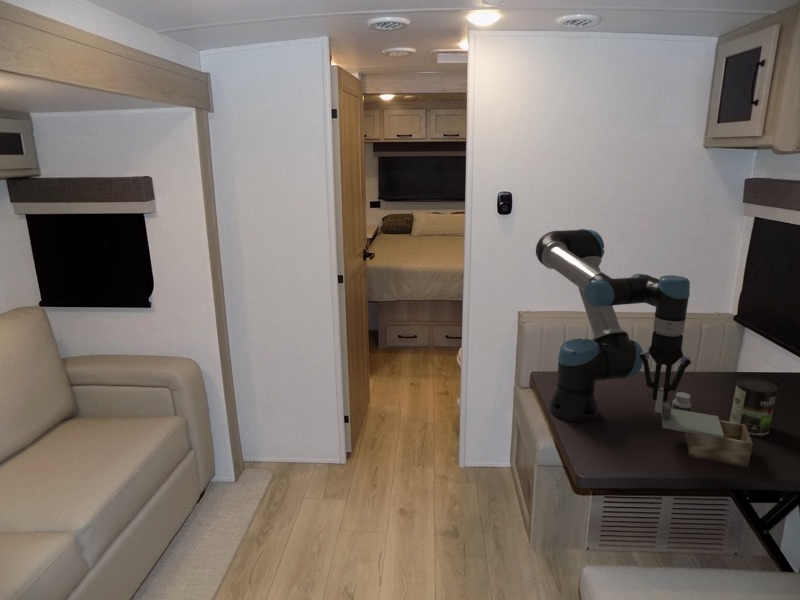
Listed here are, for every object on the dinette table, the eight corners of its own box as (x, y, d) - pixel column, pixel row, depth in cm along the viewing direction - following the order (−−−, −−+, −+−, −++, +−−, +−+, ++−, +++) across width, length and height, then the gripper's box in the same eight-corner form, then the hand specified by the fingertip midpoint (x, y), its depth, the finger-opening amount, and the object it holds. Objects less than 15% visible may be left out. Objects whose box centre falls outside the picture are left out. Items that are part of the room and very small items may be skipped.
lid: (662, 427, 145) (664, 415, 144) (661, 409, 155) (662, 397, 154) (723, 438, 139) (725, 425, 138) (717, 418, 149) (719, 406, 148)
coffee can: (777, 431, 156) (786, 388, 152) (754, 438, 152) (763, 394, 148) (743, 416, 165) (751, 374, 161) (721, 422, 161) (728, 380, 158)
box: (688, 455, 144) (692, 433, 142) (685, 436, 154) (688, 415, 152) (748, 467, 139) (752, 443, 137) (740, 446, 149) (745, 424, 147)
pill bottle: (691, 426, 160) (695, 399, 157) (672, 424, 161) (676, 398, 158) (685, 417, 165) (689, 392, 162) (667, 416, 166) (671, 390, 163)
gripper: (641, 333, 143) (632, 411, 149) (696, 339, 137) (684, 420, 144) (642, 325, 149) (633, 401, 155) (694, 331, 144) (682, 409, 150)
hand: (658, 410), depth 149 cm, fingers closed
